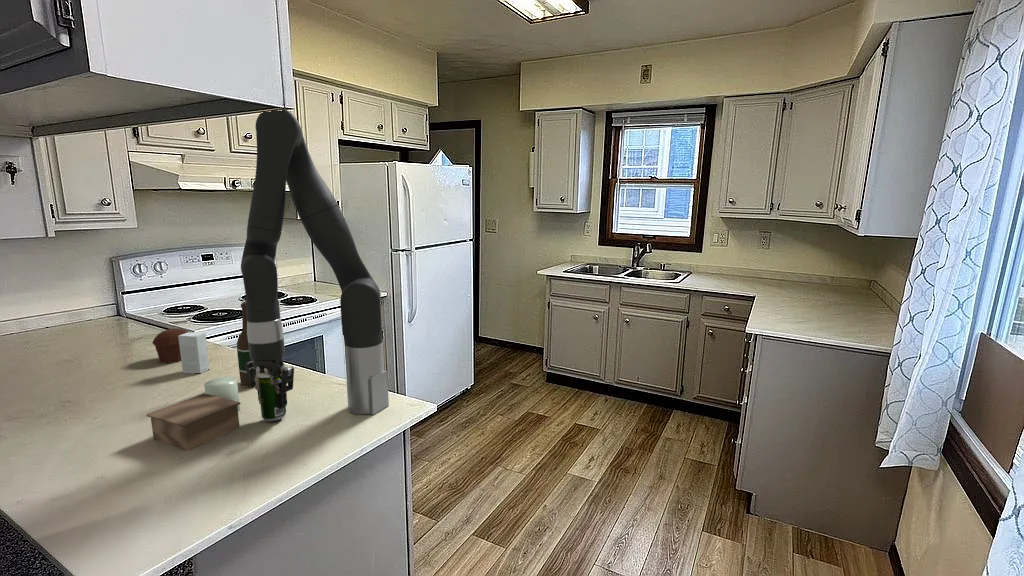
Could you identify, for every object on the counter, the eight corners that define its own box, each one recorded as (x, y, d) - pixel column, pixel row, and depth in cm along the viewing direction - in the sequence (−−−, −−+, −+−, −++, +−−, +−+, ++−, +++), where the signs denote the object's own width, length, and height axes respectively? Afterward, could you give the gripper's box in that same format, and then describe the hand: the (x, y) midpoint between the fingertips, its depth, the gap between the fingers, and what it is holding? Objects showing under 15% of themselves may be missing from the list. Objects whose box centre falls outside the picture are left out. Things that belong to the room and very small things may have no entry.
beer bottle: (243, 390, 136) (235, 306, 132) (238, 382, 142) (229, 301, 138) (273, 383, 141) (266, 302, 137) (266, 375, 147) (259, 298, 143)
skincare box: (210, 369, 153) (206, 332, 151) (200, 374, 149) (196, 336, 146) (192, 368, 153) (187, 331, 151) (182, 373, 149) (177, 335, 147)
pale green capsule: (246, 408, 124) (243, 379, 123) (220, 420, 118) (216, 388, 117) (227, 404, 127) (224, 375, 126) (201, 414, 121) (197, 384, 119)
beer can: (291, 414, 119) (286, 367, 117) (273, 423, 115) (267, 375, 112) (275, 410, 122) (270, 364, 119) (256, 419, 117) (251, 371, 115)
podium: (242, 426, 115) (240, 402, 114) (187, 452, 103) (184, 425, 102) (206, 416, 120) (203, 393, 119) (149, 439, 108) (146, 414, 107)
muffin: (147, 365, 157) (142, 335, 155) (166, 354, 167) (162, 326, 166) (186, 363, 158) (183, 333, 156) (203, 353, 169) (200, 325, 167)
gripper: (301, 336, 115) (307, 404, 118) (258, 330, 121) (265, 395, 124) (274, 345, 108) (281, 416, 111) (230, 338, 114) (238, 406, 117)
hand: (273, 405), depth 118 cm, fingers closed on beer can, 5 cm apart
